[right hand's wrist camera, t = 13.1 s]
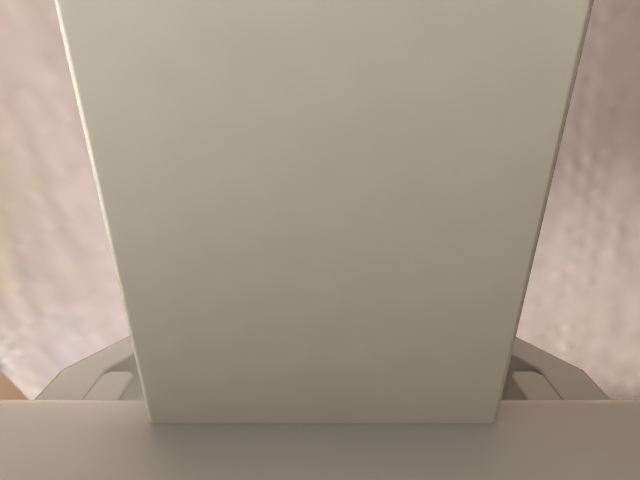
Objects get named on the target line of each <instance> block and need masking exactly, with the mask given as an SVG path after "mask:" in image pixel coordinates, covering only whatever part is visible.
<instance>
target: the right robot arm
mask: <svg viewBox="0 0 640 480" xmlns="http://www.w3.org/2000/svg"><path fill="white" fill-rule="evenodd" d="M0 480H640V400H610V399H609V397H608V396H607V395H606V394H605V393H604V392H603V391H602V390H601V389H600V388H599V387H598V386H597V385H596V384H595V383H594V381H593V380H592V379H591V378H590V377H589V376H588V375H587V374H586V373H585V372H584V371H583V370H581V369H579V368H577V367H575V366H573V365H571V364H569V363H567V362H565V361H563V360H561V359H559V358H557V357H555V356H553V355H551V354H549V353H547V352H545V351H543V350H541V349H539V348H537V347H535V346H533V345H531V344H529V343H527V342H525V341H523V340H521V339H519V338H517V337H515V341H514V346H513V350H512V354H511V359H510V363H509V367H508V372H507V376H506V380H505V384H504V389H503V393H502V397H501V402H500V406H499V410H498V415H497V419H496V422H494V423H152V422H150V421H149V417H148V413H147V408H146V404H145V399H144V395H143V390H142V386H141V382H140V377H139V373H138V368H137V364H136V360H135V355H134V351H133V346H132V342H131V337H130V336H129V337H127V338H125V339H123V340H121V341H119V342H117V343H115V344H113V345H111V346H109V347H107V348H105V349H103V350H101V351H99V352H97V353H95V354H93V355H91V356H89V357H87V358H85V359H83V360H81V361H79V362H77V363H75V364H73V365H71V366H69V367H67V368H65V369H63V370H62V371H61V372H60V373H59V374H58V375H57V376H56V377H55V378H54V379H53V380H52V381H51V382H50V384H49V385H48V386H47V387H46V388H45V389H44V390H43V391H42V392H41V393H40V394H39V395H38V396H37V397H36V399H35V400H0Z"/></svg>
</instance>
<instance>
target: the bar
mask: <svg viewBox="0 0 640 480" xmlns="http://www.w3.org/2000/svg"><path fill="white" fill-rule="evenodd" d="M593 1H594V0H54V2H55V6H56V11H57V15H58V19H59V24H60V28H61V33H62V37H63V41H64V46H65V50H66V55H67V59H68V64H69V68H70V72H71V77H72V81H73V86H74V90H75V94H76V99H77V103H78V108H79V112H80V117H81V121H82V125H83V130H84V134H85V139H86V143H87V148H88V152H89V156H90V161H91V165H92V170H93V174H94V178H95V183H96V187H97V192H98V196H99V201H100V205H101V209H102V214H103V218H104V223H105V227H106V231H107V236H108V240H109V245H110V249H111V254H112V258H113V262H114V267H115V271H116V276H117V280H118V284H119V289H120V293H121V298H122V302H123V307H124V311H125V315H126V320H127V324H128V329H129V333H130V337H131V342H132V346H133V351H134V355H135V360H136V364H137V368H138V373H139V377H140V382H141V386H142V390H143V395H144V399H145V404H146V408H147V413H148V417H149V421H150V422H152V423H494V422H496V419H497V415H498V410H499V406H500V402H501V397H502V393H503V389H504V384H505V380H506V376H507V372H508V367H509V363H510V359H511V354H512V350H513V346H514V341H515V337H516V333H517V328H518V324H519V320H520V316H521V311H522V307H523V303H524V298H525V294H526V290H527V285H528V281H529V277H530V272H531V268H532V264H533V260H534V255H535V251H536V247H537V242H538V238H539V234H540V229H541V225H542V221H543V217H544V212H545V208H546V204H547V199H548V195H549V191H550V186H551V182H552V178H553V173H554V169H555V165H556V161H557V156H558V152H559V148H560V143H561V139H562V135H563V130H564V126H565V122H566V117H567V113H568V109H569V105H570V100H571V96H572V92H573V87H574V83H575V79H576V74H577V70H578V66H579V62H580V57H581V53H582V49H583V44H584V40H585V36H586V31H587V27H588V23H589V18H590V14H591V10H592V6H593Z"/></svg>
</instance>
